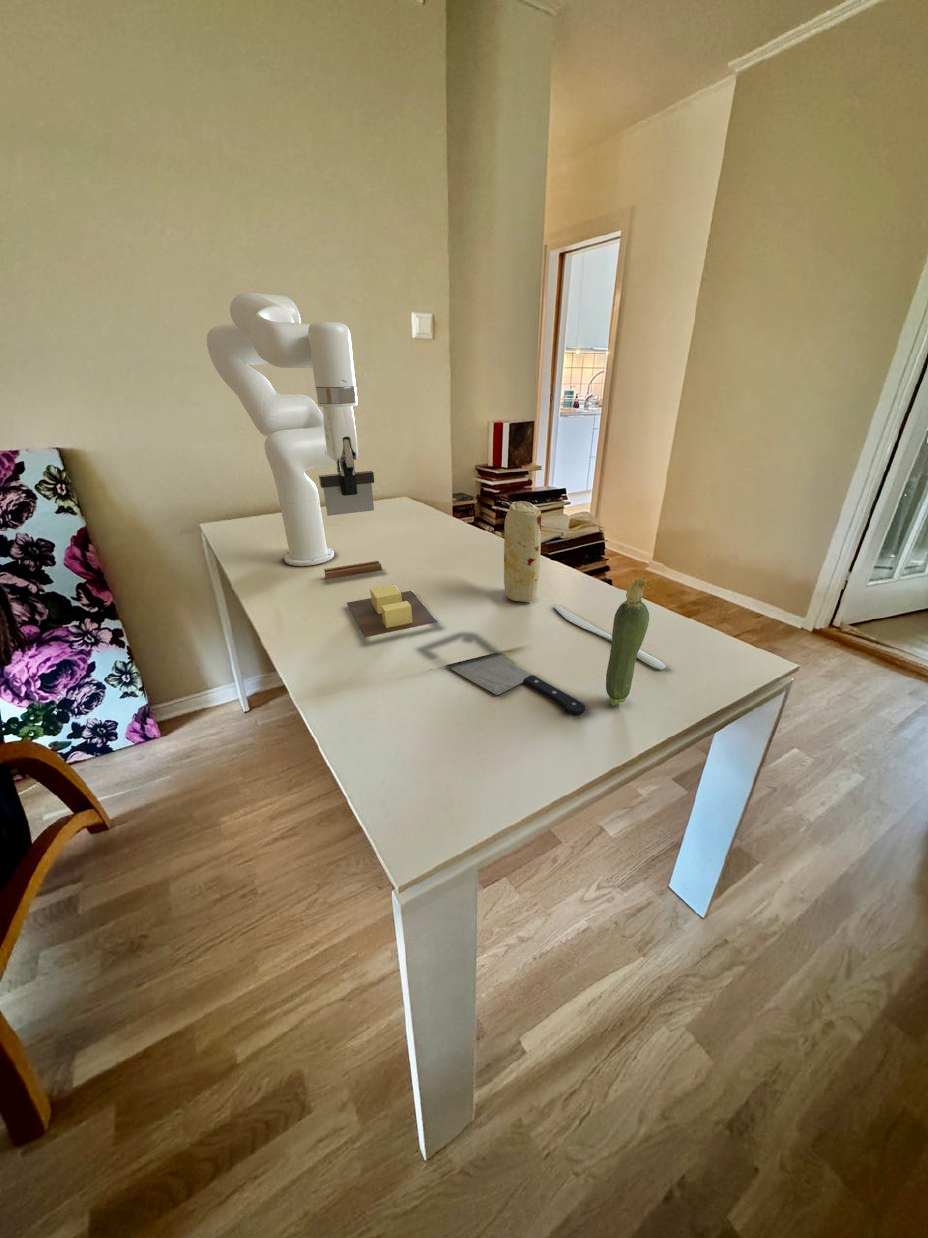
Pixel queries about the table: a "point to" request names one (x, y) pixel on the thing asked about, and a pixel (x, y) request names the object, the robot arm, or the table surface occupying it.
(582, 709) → the cleaver
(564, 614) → the butter knife
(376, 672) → the table surface
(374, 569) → the holder
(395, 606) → the butter pat
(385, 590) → the butter stick
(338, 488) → the cutter
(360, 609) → the board
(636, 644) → the vegetable
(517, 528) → the food model
